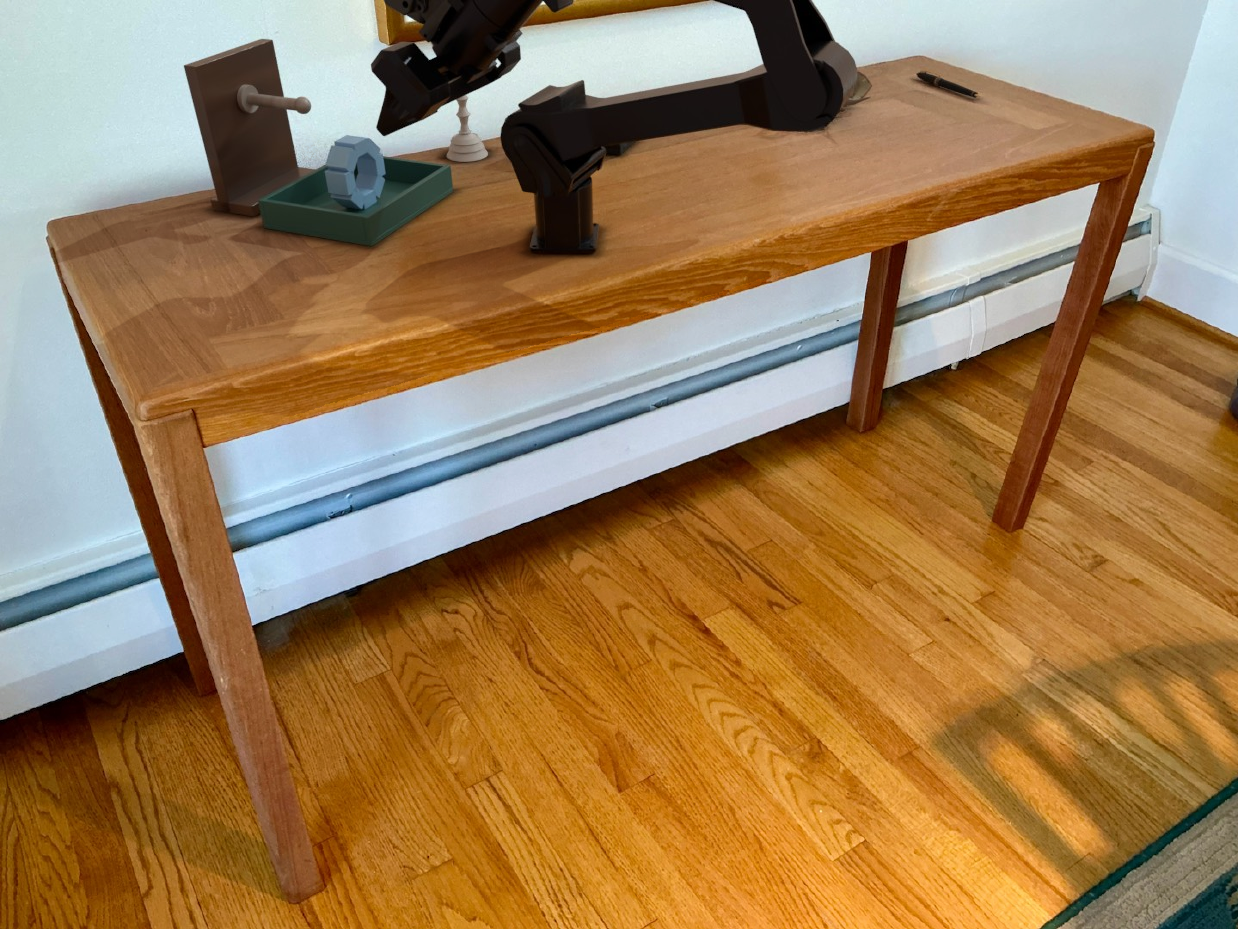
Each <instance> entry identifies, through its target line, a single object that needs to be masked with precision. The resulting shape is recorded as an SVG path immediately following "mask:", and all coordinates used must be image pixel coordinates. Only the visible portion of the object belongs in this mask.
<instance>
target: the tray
mask: <svg viewBox="0 0 1238 929" xmlns="http://www.w3.org/2000/svg"><path fill="white" fill-rule="evenodd" d="M383 159H384V166H385V173H386V174H385V175H383V176H382V177H383V178H384V179H385V182H384V185H383V188H382V192H381V195H380V198H379V199H378V198H376V201H377V202H376V203H375V204H373V205H372V206H370V207H369V208H367V209H365V210H364V209H362V210H361V209H355V208H348V207H342V206H341V205H340V204H338V203H337V202H336V201H335V200H334V199H332V198H331V195H332V193H328V187H327V182H326V177H325V171H326V170H328V168H327V167H326V166H325V164H323V165H321V166H320V167H317V168H315V169H316V170H314V171H312V172H310V173H308V174H306V175H305V176H303V177H301V178H299V179H297V180H295V181H293V182H291V183H289V184H288V185H286V186H284V187H282V188H280V189H278V190H276V191H274V192H272V193H271V194H269V195H267V196H265V197H263V198H261V199H259V200H258V203H259V208H260V212H261V213H260V216H261V220H262V223H263V224H262V225H263V229H268V230H273V231H280V232H285V233H291V234H298V235H303V236H309V237H315V238H319V239H320V238H322V239H326V240H333V241H339V242H345V243H349V244H350V243H351V244H356V245H363V246H368V247H374V246H375V245H377V244H378V243H379V242H381V241H382V240H384V239H385V238H387V237H388V236H390V235H391V234H393V233H394V232H396V231H397V230H399V229H401V227H403V226H404V225H406V224H407V223H409V222H411V221H412V220H414V219H415V218H417V217H418V216H419V215H421V214H422V213H424V212H425V211H427V210H428V209H430V208H431V207H433V206H435V204H437V203H439V202H440V201H442V200H443V199H444V198H447V197H448V196H449V195H450V194H452V193H453V192H454V186H453V177H452V166H451V165H450V164H443V163H437V162H431V161H430V162H429V161H421V160H416V159H415V160H414V159H408V158H407V159H406V158H399V157H392V156H385V155H383ZM357 176H358V168H357V163H356V166H355V170H354V178H355V182H356V179H357Z"/></svg>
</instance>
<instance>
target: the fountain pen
mask: <svg viewBox="0 0 1238 929" xmlns="http://www.w3.org/2000/svg"><path fill="white" fill-rule="evenodd" d="M915 75H916V77H917V78H918V79H920V80H922V81H923V82H925V83H928V84H930V85H933V86H935V87H938V88H943V89H945V90H948V91H952V92H954V93H958V94H962V95H964V96H968V97H970V98H973V99H976V98H983V95H981V94H979V92H978V91H975V90H972V89H969V88H968V87H965V86H963V85H960V84H958V83H955V82H952V81H950V80H948V79H944V78H943V77H942V75H941V74H938V73H934V72H931V71H928V70H922V69H921V70H920V71H919V72H917V73H916V74H915Z"/></svg>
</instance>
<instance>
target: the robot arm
mask: <svg viewBox="0 0 1238 929" xmlns="http://www.w3.org/2000/svg"><path fill="white" fill-rule="evenodd" d="M712 1H713V2H716V3H719V4H722V5H726V6H729V7H732V8H735V9H737V10H741V11H744V12H745V14H746V16H747V18H748V20H749V22H750V25H751V26H752V29H753V33H754V36H755V40H756V43H757V47H758V50H759V54H760V57H761V60H762V61H761V62H762V64H760V65H758V66H756V67H755V66H754V67H753V68H751V69H748V70H746V71H744V72H743V71H742V72H739V73H734V74H727V75H722V76H717V77H716V76H715V77H711V78H706V79H700V80H694V81H690V82H683V83H679V84H673V85H668V86H662V87H657V88H652V89H647V90H641V91H635V92H630V93H625V94H618V95H613V96H608V97H597V96H593V95H589V94H586V84H585V80H583V79H581V80H578V81H575V82H573V83H571V84H568V85H565V86H556V85H551V84H549V85H547V86H546V87H543V88H542V89H541V90H539V91H537V92H535V93H534V94H532V95H531V96H529V97H527V98H526V99H524V100H522V101H521V102H519V103H518V104H517V105H518V108H519V109H517V110H516V111H514V112H512V113H510V114H509V115H507V117H505V119H504V122H503V123H502V125H501V128H500V143H501V148H502V150H503V153H504V154H505V157H506V158H507V159H508V161H509V162H510V163H511V166H512V169H513V171H514V174H515V176H516V179H517V181H518V184H519V187H520V189H521V191H522V192H523V193H528V194H533V199H534V200H533V202H534V218H535V225H534V229H533V232H532V235H531V239H530V240H531V241H530V243H529V251H530V252H531V253H560V254H561V253H563V254H564V253H565V254H566V253H568V254H569V253H571V254H572V253H573V254H574V253H579V254H580V253H581V254H582V253H584V254H592V253H595V252H597V247H598V241H599V240H598V239H599V231H600V224H599V223H597V222H594V198H593V177H592V176H593V174H595V173H596V172H598V171H600V170H601V169H602V167H603V165H604V161H605V159H606V155H607V153H606V152H607V151H606V149H605V148H604V146H610V145H617V144H623V143H629V142H634V143H636V142H641V141H649V140H653V139H660V138H667V137H672V136H673V137H674V136H679V135H685V134H691V133H697V132H704V131H710V130H716V129H717V130H718V129H722V128H729V127H734V126H748V127H754V128H758V129H761V130H767V131H771V132H790V133H791V132H792V133H793V132H795V133H812V132H816V131H819V130H822V129H825V128H826V127H827V126H829V125H830V124H831V123H832V122H833V121H834V120H835V118H836V117H837V116H838V114H839V113H840V111H841V110H842V109H843V108H844V107H843V106H844V105H845V103H846V102H847V101H848V99H849V98H850V97H851V95H852V94H853V93H854V90H855V87H856V84H857V74H858V71H857V70H858V67H857V64H856V61H855V58H854V57H853V56H852V53H850V51H849V50H848V49H846V48H845V47H844V46H842V45H841V44H840V43H839V42H837V41H836V40H835V38H834V36H833V33H832V31H831V29H830V27H829V24H828V22H827V20H826V19H825V18H824V16H823V15H822V13H821V12H820V10H819V9H818V7H817V6H816V5H815V2H814V1H813V0H712ZM383 2H384V4H385V5H386V6H387V7H389V8H390V9H392V10H393V11H396V12H397V13H399V14H400V15H402V16H407V17H409V18H410V19H411V20H413V21H415V22H417V23H419V24H421V25H422V26H421V28H420V29H419V31H418V33H419V35H420V36H421V37H422V38H423V39H424V40H425V42H426V43H430V44H431V43H432V44H433V46H432V44H431V49H432V51H433V53H434V55H435V57H432V58H431V59H430V58H429V57H428V56H427V55H426V54H425V53H424V52H423V50H421V49H420V47H419V46H418V45H417V44H416V42H412V41H400V42H397V43H395V44H392V45H390V46H388V47H385V48H382V49H381V50H380V51H379V52H378V54H377V55H376V56H375V58H374V59H373V60H372V62H371V64H370V69H371V72H372V73H373V74H374V76H375V77H376V78H377V79H378V80H379V81H380V82H381V83H382V84H383V86H384V87H385V92H384V98H383V101H382V106H381V108H380V112H379V116H378V119H377V123H376V126H375V128H376V130H377V132H378V133H379V134H380V135H381V136H382V137H387V136H389V135H391V134H393V133H395V132H397V131H400V130H403V129H404V128H407V127H409V126H412V125H414V124H417V123H418V122H421V121H423V120H425V119H428V118H429V117H431V116H433V115H435V114H437V113H438V112H439V111H438V110H439V109H440V108H441V107H443V106H446V105H448V104H450V103H452V102H454V101H457V100H456V99H458V98H460V97H463V96H465V95H467V96H468V95H469V94H471V93H473V92H475V91H478V90H480V89H482V88H484V87H486V86H488V85H491V84H492V83H494V82H496V81H497V80H499V79H501V78H502V77H503V76H505V75H507V74H508V73H511V72H512V71H513V69H514V68H515V67H516V66H517V64H519V63H520V61H521V60H522V55H521V54H522V53H521V45H520V43H518V42H517V41H518V40H519V38H521V36H522V35H523V33H524V32H522V30H521V28H522V27H523V26H524V25H525V24H526V23H527V21H528V20H529V19H530V18H531V17H532V15H533V14H534V13H535V12H536V11H537V10H538V8H539V7H540V6H541V4H543V3H545V5H546V7H547V8H548V9H549V10H550V11H551V12H552V13H558V12H560V11H563V10H564V9H567V8H568V7H571V6H573V4H574V0H383ZM497 61H498V62H499V63H500V64H499V65H498V62H497ZM497 65H498V66H497Z"/></svg>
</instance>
